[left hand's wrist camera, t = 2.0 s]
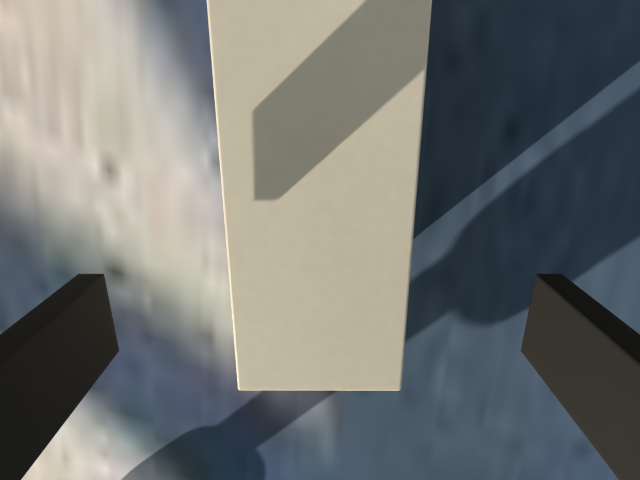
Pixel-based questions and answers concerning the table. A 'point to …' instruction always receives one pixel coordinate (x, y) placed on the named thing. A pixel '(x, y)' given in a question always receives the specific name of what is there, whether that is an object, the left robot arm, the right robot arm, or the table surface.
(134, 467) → the table surface
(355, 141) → the cabinet
